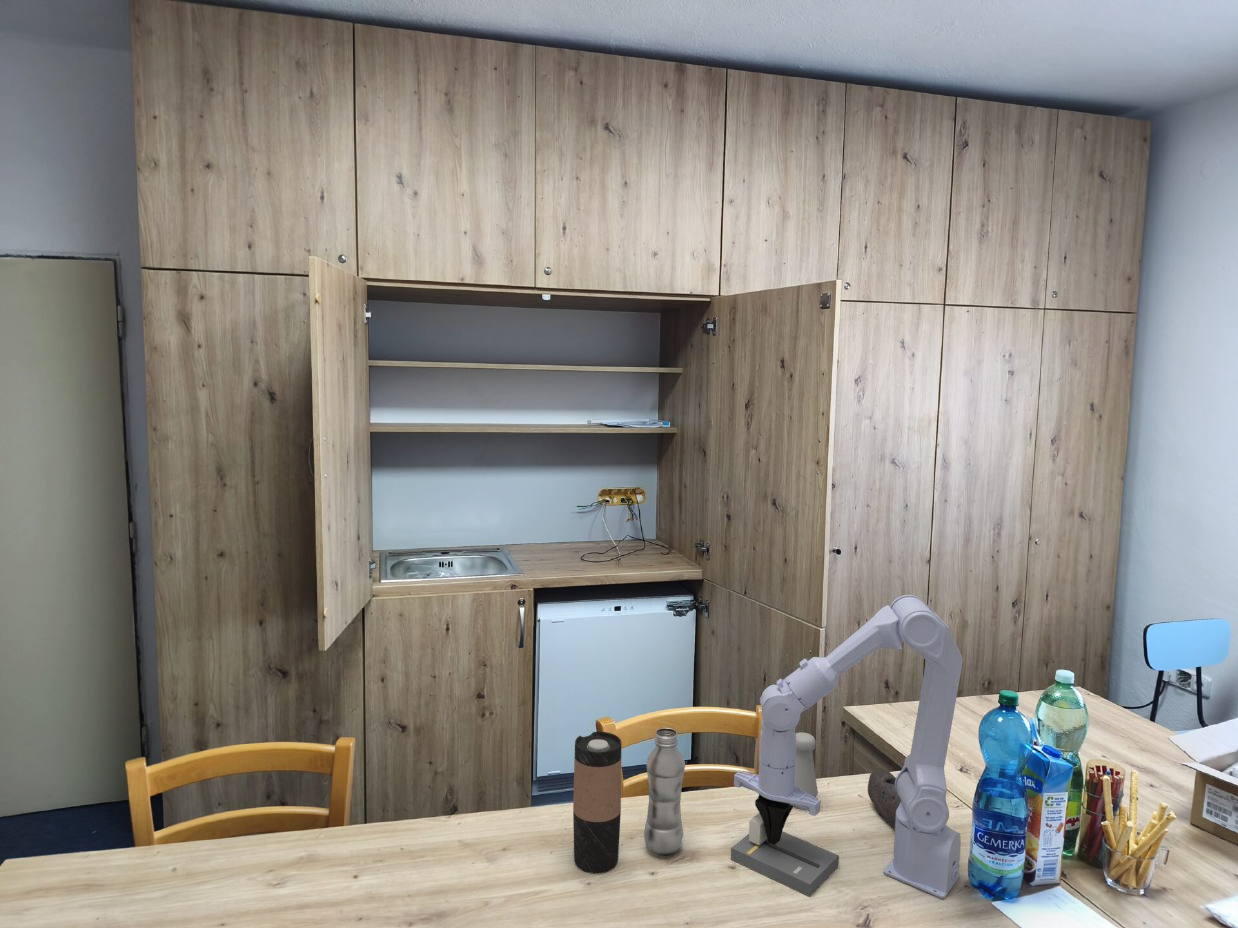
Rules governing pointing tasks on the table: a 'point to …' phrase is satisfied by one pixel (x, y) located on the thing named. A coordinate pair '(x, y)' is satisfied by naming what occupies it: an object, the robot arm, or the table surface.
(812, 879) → the console board
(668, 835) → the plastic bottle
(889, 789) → the perforated stone tool
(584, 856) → the travel mug
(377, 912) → the table surface
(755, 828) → the fader tab
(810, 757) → the salt shaker
